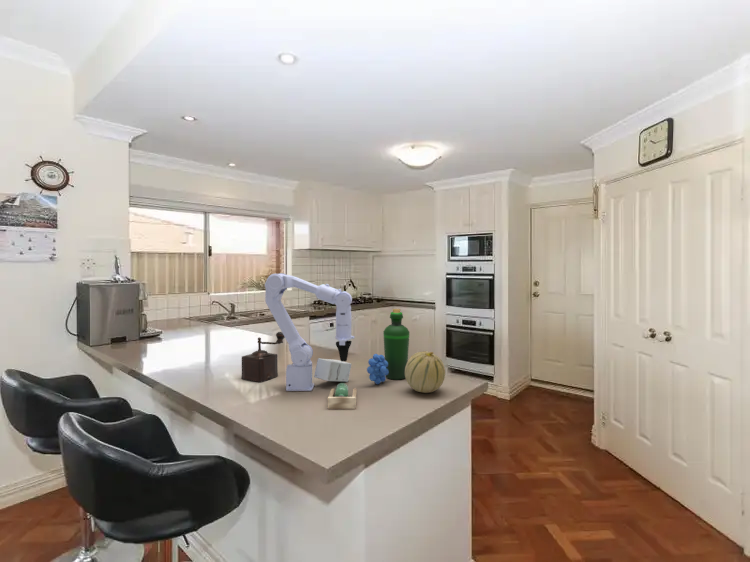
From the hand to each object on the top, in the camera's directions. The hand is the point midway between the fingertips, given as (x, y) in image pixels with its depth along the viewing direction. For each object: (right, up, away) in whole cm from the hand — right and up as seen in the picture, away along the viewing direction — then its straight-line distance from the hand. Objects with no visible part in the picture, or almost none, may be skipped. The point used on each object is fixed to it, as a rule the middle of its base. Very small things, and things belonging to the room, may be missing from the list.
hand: (343, 361), depth 150 cm
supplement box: (-1, -6, +12) cm, 14 cm away
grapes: (+13, -10, +6) cm, 18 cm away
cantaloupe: (+30, -11, -3) cm, 32 cm away
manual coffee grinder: (-34, -10, +17) cm, 39 cm away
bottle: (+20, -10, +16) cm, 28 cm away
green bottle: (0, -9, -7) cm, 11 cm away
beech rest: (+1, -11, -14) cm, 17 cm away
